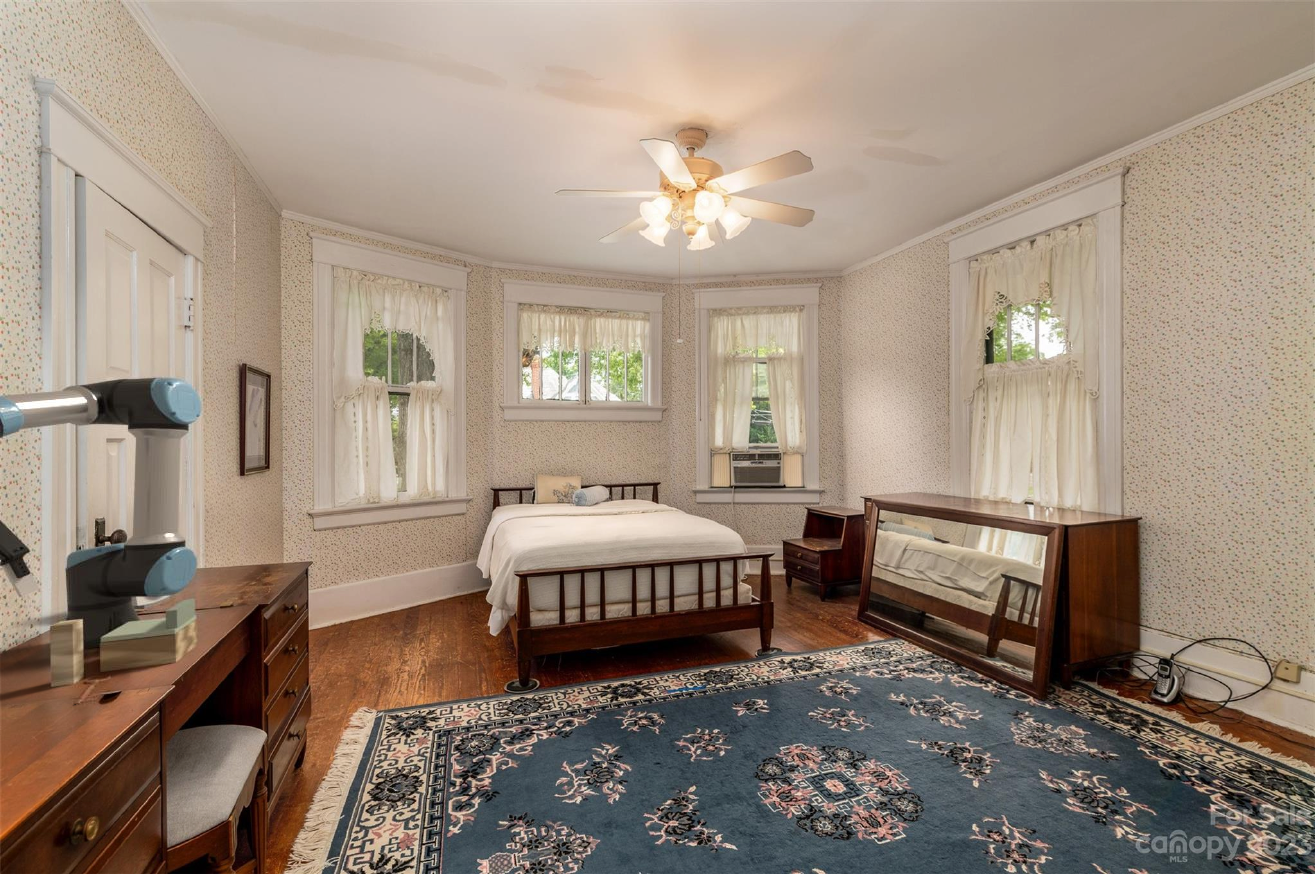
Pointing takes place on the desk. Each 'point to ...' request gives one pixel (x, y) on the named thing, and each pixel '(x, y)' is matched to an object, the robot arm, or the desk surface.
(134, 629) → the lid
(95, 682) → the key
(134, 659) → the light wooden box
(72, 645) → the block
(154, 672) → the desk surface
